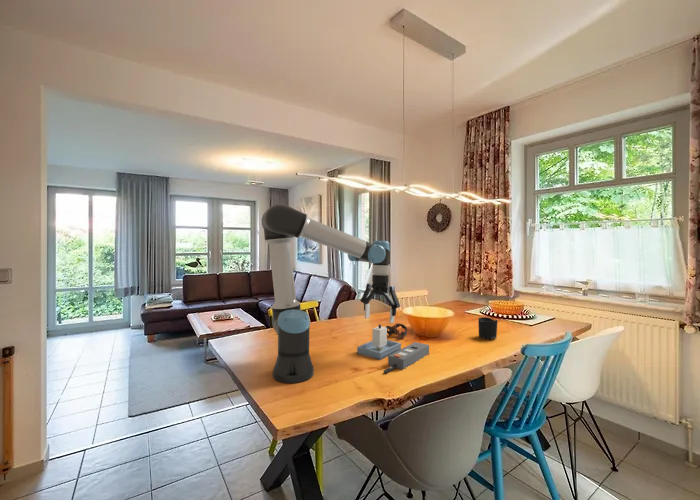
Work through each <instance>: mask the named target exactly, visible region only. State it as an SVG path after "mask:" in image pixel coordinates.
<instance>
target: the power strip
mask: <svg viewBox="0 0 700 500" xmlns="http://www.w3.org/2000/svg"><path fill="white" fill-rule="evenodd" d="M427 354H428V355H430V345H429V344H427V343H422V342H417V341H414V342H412V343H410V344H408V345H406V346H405V347H403V348H402V347H401V349H400V350H398V351H396V352H395V353H393V354H391V355H389V356H387V357H388V358H387V365H388V367H387V368H386V369H384V370H383V373H384V374H386V375H387V374H388V373H389V372H391V371H393V370H395V369H399V370H402V369H404V370H406V369H407V368H409V367H411V366H412V365H413V364H415V363H416V361H417V362H419V361H420V360H422V359H423V358H424V356H425V357H426V356H428V355H427ZM419 359H420V360H419ZM414 362H415V363H414ZM411 364H412V365H411ZM408 366H409V367H408ZM406 367H407V368H406Z"/></svg>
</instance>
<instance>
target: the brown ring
mask: <svg viewBox="0 0 700 500" xmlns="http://www.w3.org/2000/svg"><path fill="white" fill-rule="evenodd" d="M385 327H386V328H387V335H388V336H391V335H397V334H398V335H397V337H396V340H399V339H400V340H401V338H402V339H403V338H404V337H407V335H408V328H407V326H406V325H404V324H403V323H398V322H397V323H394V325H392V326H390V325H386V326H385ZM400 327H401V329H403V330H404V331H400V330H399V329H398V328H400Z"/></svg>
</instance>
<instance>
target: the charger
mask: <svg viewBox="0 0 700 500" xmlns="http://www.w3.org/2000/svg"><path fill="white" fill-rule="evenodd" d="M387 330H388V329H387V328H386V326H382V324H380V323H379V324H378V326H376V327H374V328H372V335H371V336H372V340H371V341H372V346H374V347H376V350H380V351H381V350H383V346H385V345H387V340H388V333H387Z"/></svg>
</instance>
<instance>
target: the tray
mask: <svg viewBox="0 0 700 500" xmlns="http://www.w3.org/2000/svg"><path fill="white" fill-rule="evenodd" d="M400 349H402V342H397V341H393V340H389V339H387V345H385V346H383V350H381V351H380V350H376V347H374V346H372V340H371V341H368V342H366V343H364V344H360V345H359V346H356V354H357V355H362V356H366V357H369V358H372V359H374V360H375V359H376V360H380V361H381V360H383V359H385V358H387V357H388V356H389V355H391V354H393V353H395V352H396V351H398V350H400Z"/></svg>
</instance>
